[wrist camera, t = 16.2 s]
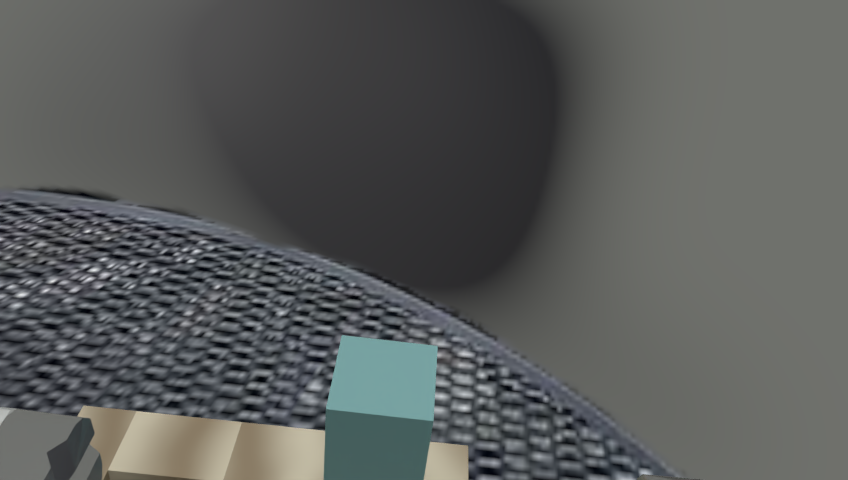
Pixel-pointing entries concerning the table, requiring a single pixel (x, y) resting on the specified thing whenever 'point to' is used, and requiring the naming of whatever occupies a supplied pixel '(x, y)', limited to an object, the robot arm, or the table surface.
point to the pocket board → (225, 449)
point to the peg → (380, 410)
